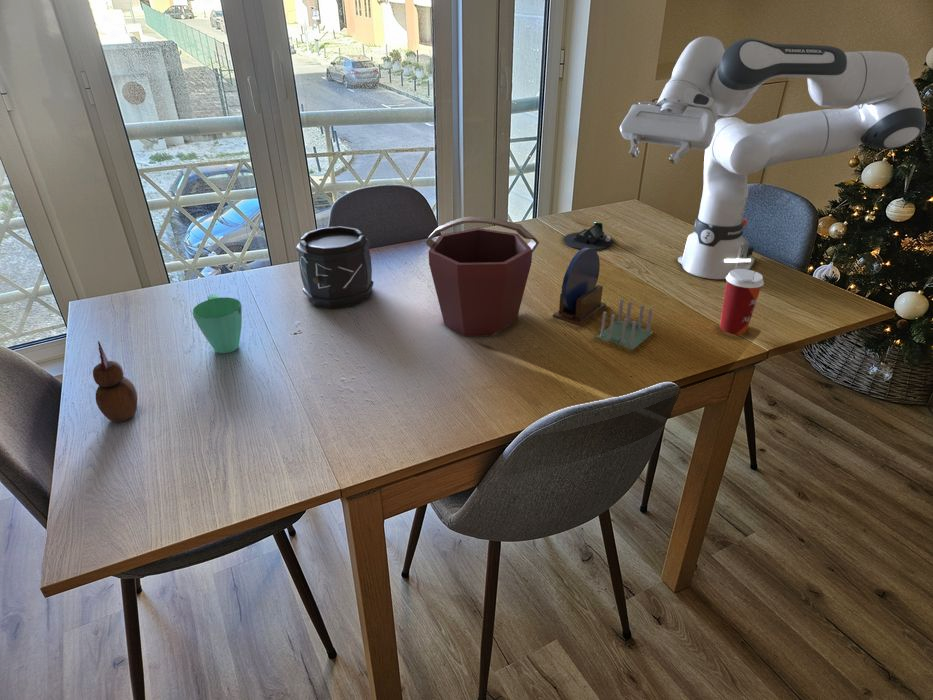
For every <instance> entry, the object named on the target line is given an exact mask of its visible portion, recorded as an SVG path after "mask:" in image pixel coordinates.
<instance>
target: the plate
mask: <svg viewBox="0 0 933 700" xmlns="http://www.w3.org/2000/svg"><path fill="white" fill-rule="evenodd" d="M600 268H601V264H600V257H599V254H598V252H597V250H594V249H591V248H583V249H581V250H580V249H579V250H578V251H577V252H576V253H575V254H574V256H573V257H572V258H571V260H570V262H569V264H568V266H567V268H566V270H565V273H564V276H563V280H562V285H561V293H562V302H563V305H564V306H565V308H566V309H568V310H571V311H576V302H577V299H578V298H579V297H581V296H582V295H584V294H585V293H587V292H588V291H590V290H591V289H593V288H595V287H596V286H597V285H598V280H599V275H600Z"/></svg>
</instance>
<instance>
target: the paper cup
mask: <svg viewBox="0 0 933 700" xmlns="http://www.w3.org/2000/svg"><path fill="white" fill-rule="evenodd" d="M725 280H726V283H725V290H724V296H723V302H722V308H721V313H720V314H721V315H720V322H719V328H720V329H721V330H722V331H724V332H726V333H728V334H731V335H742V334H745V333H747V331H748V329H749V328H748V327H749V325H750V322H751V319H752V315H753V312H754V310H755V307H756V304H757V301H758V298H759V294H760V291H761V288H762V287H763V286H764V284H765V282H764V277H763V275H762V274H761V273H760V272H758V271H755V270H751V269H749V270H747V269H735V270H731V271H730V272H729V274H728V275H727V276H726V279H725Z"/></svg>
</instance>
